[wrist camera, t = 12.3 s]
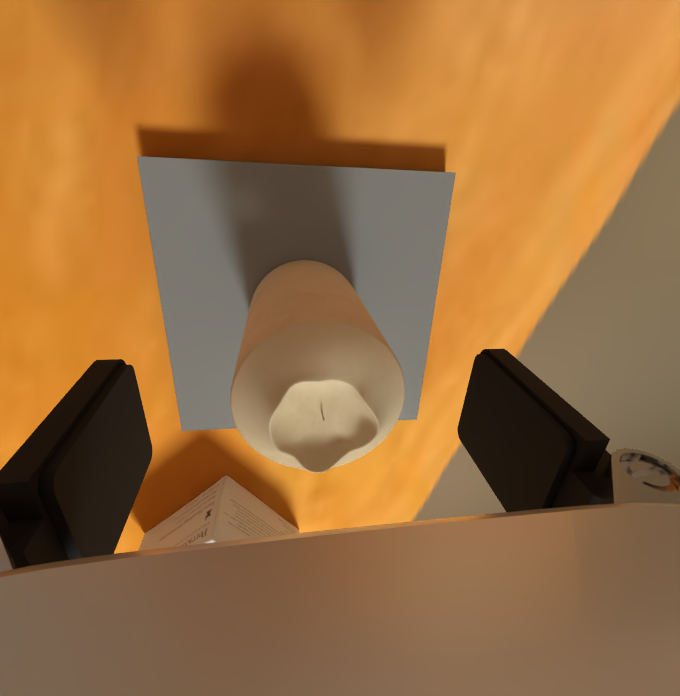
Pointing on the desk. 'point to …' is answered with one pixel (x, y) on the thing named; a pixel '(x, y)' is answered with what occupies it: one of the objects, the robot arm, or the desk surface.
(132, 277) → the desk surface
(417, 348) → the slate coaster
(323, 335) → the candle
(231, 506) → the small box
